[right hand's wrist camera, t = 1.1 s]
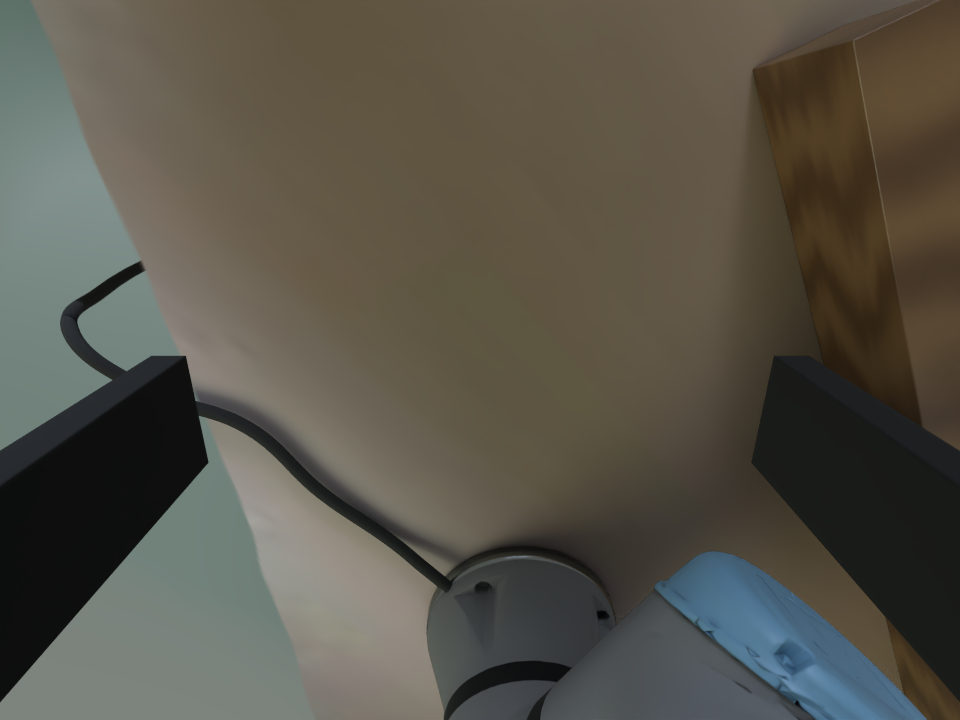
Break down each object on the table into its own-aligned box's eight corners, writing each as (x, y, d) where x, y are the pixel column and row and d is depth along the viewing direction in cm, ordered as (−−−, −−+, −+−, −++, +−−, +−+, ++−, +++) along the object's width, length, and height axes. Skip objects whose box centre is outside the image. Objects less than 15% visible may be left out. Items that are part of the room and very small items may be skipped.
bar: (751, 69, 30) (852, 39, 22) (844, 25, 29) (984, -23, 21) (920, 760, 51) (1002, 874, 43) (975, 745, 51) (1070, 859, 42)
